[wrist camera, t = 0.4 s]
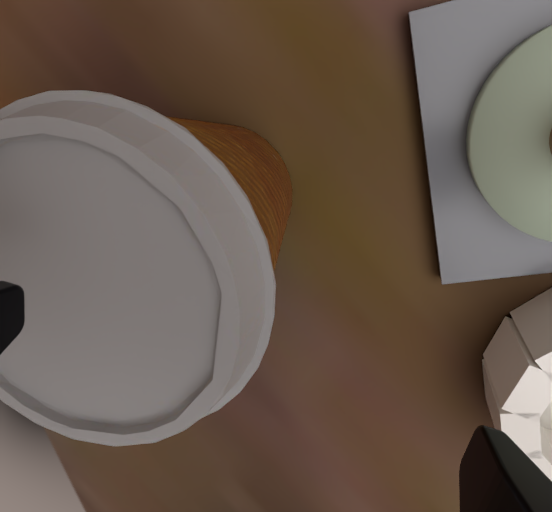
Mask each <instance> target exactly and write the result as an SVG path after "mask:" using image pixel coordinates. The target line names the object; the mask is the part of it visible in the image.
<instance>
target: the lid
mask: <svg viewBox="0 0 552 512" xmlns="http://www.w3.org/2000/svg"><path fill="white" fill-rule="evenodd" d="M466 152H467V159H468V165H469V168H470V171H471V174H472V178H473V180H474V182H475V184H476V186H477V188H478V190H479V191H480V193H481V194H482V195H483V197H484V198H485V200H486V201H487V202H488V203H489V205H490V206H491V207H492V208H493V209H494V210H495V211H496V212H497V214H498V215H499V216H500V217H502V218H503V219H504V220H505V221H507V222H508V223H509V224H510V225H512V226H514V227H515V228H517V229H519V230H520V231H522V232H524V233H526V234H529V235H531V236H533V237H536V238H539V239H543V240H546V241H550V242H552V25H550V26H548V27H545V28H544V29H542V30H540V31H538V32H537V33H535V34H533V35H532V36H530V37H529V38H527V39H526V40H524V41H523V42H522V43H520V44H519V45H518V46H516V47H515V48H514V49H513V50H512V51H511V52H510V53H509V54H508V55H507V56H505V57H504V58H503V59H502V61H501V62H500V63H499V64H498V65H497V66H496V68H495V69H494V70H493V71H492V73H491V74H490V75H489V77H488V78H487V80H486V81H485V83H484V84H483V86H482V88H481V90H480V92H479V94H478V96H477V98H476V100H475V103H474V105H473V108H472V111H471V114H470V118H469V122H468V127H467V136H466Z"/></svg>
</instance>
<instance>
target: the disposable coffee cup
mask: <svg viewBox="0 0 552 512" xmlns="http://www.w3.org/2000/svg"><path fill="white" fill-rule="evenodd" d="M291 206H292V186H291V180H290V176H289V173H288V171H287V168H286V166H285V163H284V162H283V160H282V158H281V157H280V155H279V154H278V152H277V151H276V150H275V149H274V148H273V147H272V146H271V145H270V144H269V143H268V142H267V141H266V140H265V139H264V138H262V137H261V136H259V135H258V134H257V133H255V132H252V131H250V130H248V129H246V128H244V127H239V126H234V125H229V124H219V123H211V122H204V121H198V120H189V119H181V118H175V117H168V116H163V115H162V114H160V113H158V112H156V111H155V110H153V109H151V108H149V107H148V106H145V105H142V104H139V103H136V102H133V101H130V100H127V99H124V98H121V97H118V96H115V95H112V94H109V93H101V92H94V91H86V90H74V91H47V92H44V93H40V94H37V95H33V96H30V97H26V98H23V99H19V100H17V101H15V102H13V103H11V104H9V105H7V106H6V107H4V108H2V109H0V281H6V282H10V283H13V284H16V285H19V286H21V287H22V288H23V290H24V297H25V323H24V326H23V329H22V331H21V332H20V334H19V335H18V336H17V337H16V338H15V339H14V340H13V342H12V343H11V344H10V345H9V346H8V347H7V348H6V349H5V350H4V351H3V353H2V354H1V355H0V399H1V400H2V401H3V402H4V403H5V404H7V405H8V406H10V407H12V408H13V409H15V410H16V411H17V412H19V413H21V414H22V415H24V416H25V417H27V418H28V419H30V420H31V421H33V422H34V423H36V424H38V425H40V426H43V427H45V428H48V429H50V430H52V431H55V432H57V433H59V434H62V435H64V436H67V437H69V438H71V439H75V440H80V441H86V442H92V443H97V444H103V445H109V446H114V447H115V446H126V445H137V444H147V443H156V442H158V441H160V440H163V439H165V438H168V437H170V436H173V435H175V434H177V433H180V432H182V431H184V430H186V429H187V428H189V427H190V426H191V425H193V424H194V423H195V422H197V421H198V420H199V419H201V418H203V417H205V416H207V415H209V414H211V413H213V412H215V411H217V410H219V409H220V408H222V407H223V406H224V405H225V404H226V403H228V402H229V401H230V400H231V399H232V398H234V397H235V396H236V395H237V394H238V393H240V392H241V390H242V389H243V388H244V386H245V385H246V384H247V382H248V381H249V380H250V378H251V377H252V375H253V374H254V373H255V371H256V370H257V369H258V366H259V364H260V362H261V359H262V357H263V355H264V352H265V350H266V348H267V346H268V343H269V338H270V333H271V329H272V324H273V320H274V315H275V296H276V282H275V276H274V270H275V265H276V263H277V258H278V254H279V251H280V247H281V244H282V240H283V235H284V232H285V229H286V225H287V221H288V218H289V215H290V211H291Z"/></svg>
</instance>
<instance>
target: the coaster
mask: <svg viewBox="0 0 552 512" xmlns="http://www.w3.org/2000/svg"><path fill="white" fill-rule="evenodd" d="M408 18H409V26H410V34H411V42H412V50H413V59H414V67H415V75H416V83H417V91H418V99H419V108H420V116H421V124H422V132H423V140H424V148H425V157H426V165H427V173H428V181H429V189H430V198H431V206H432V214H433V222H434V230H435V238H436V247H437V255H438V263H439V271H440V278H441V282H442V284H450V283H459V282H469V281H478V280H487V279H496V278H505V277H514V276H523V275H533V274H542V273H551V272H552V242H550V241H546V240H543V239H539V238H536V237H533V236H531V235H529V234H526V233H524V232H522V231H520V230H519V229H517V228H515V227H514V226H512V225H510V224H509V223H508V222H507V221H505V220H504V219H503V218H502V217H500V216H499V215H498V214H497V212H496V211H495V210H494V209H493V208H492V207H491V206H490V205H489V203H488V202H487V201H486V200H485V198H484V197H483V195H482V194H481V193H480V191H479V190H478V188H477V186H476V184H475V182H474V180H473V178H472V174H471V171H470V168H469V165H468V159H467V152H466V136H467V127H468V122H469V118H470V114H471V111H472V108H473V105H474V103H475V100H476V98H477V96H478V94H479V92H480V90H481V88H482V86H483V84H484V83H485V81H486V80H487V78H488V77H489V75H490V74H491V73H492V71H493V70H494V69H495V68H496V66H497V65H498V64H499V63H500V62H501V61H502V59H503V58H504V57H505V56H507V55H508V54H509V53H510V52H511V51H512V50H513V49H514V48H515V47H516V46H518V45H519V44H520V43H522V42H523V41H524V40H526V39H527V38H529V37H530V36H532V35H533V34H535V33H537V32H538V31H540V30H542V29H544V28H545V27H548V26H550V25H552V0H453V1H449V2H445V3H441V4H438V5H434V6H430V7H427V8H423V9H419V10H415V11H412V12H409V14H408Z"/></svg>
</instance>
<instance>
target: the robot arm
mask: <svg viewBox="0 0 552 512" xmlns="http://www.w3.org/2000/svg"><path fill="white" fill-rule="evenodd" d="M24 323H25V297H24V290H23V288H22V287H21V286H19V285H16V284H13V283H10V282H6V281H0V355H1V354H2V353H3V351H4V350H5V349H6V348H7V347H8V346H9V345H10V344H11V343H12V342H13V340H14V339H15V338H16V337H17V336H18V335H19V334H20V332H21V331H22V329H23V326H24ZM459 487H460V512H552V481H551V480H550V479H549V478H548V477H547V476H546V475H545V474H544V473H543V472H542V471H541V470H540V469H539V468H538V467H537V465H536V464H535V463H534V462H533V461H532V460H531V459H530V458H529V457H528V456H527V455H526V454H525V453H524V452H523V451H522V450H521V449H520V448H519V447H518V446H517V445H516V444H515V443H514V442H513V440H512V439H511V438H510V437H509V436H508V435H507V434H506V433H505V432H503V431H501V430H497V429H494V428H491V427H487V426H484V425H481V426H478V427H477V428H476V430H475V431H474V433H473V436H472V438H471V440H470V442H469V444H468V447H467V449H466V451H465V453H464V455H463V458H462V460H461V464H460V470H459Z"/></svg>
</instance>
